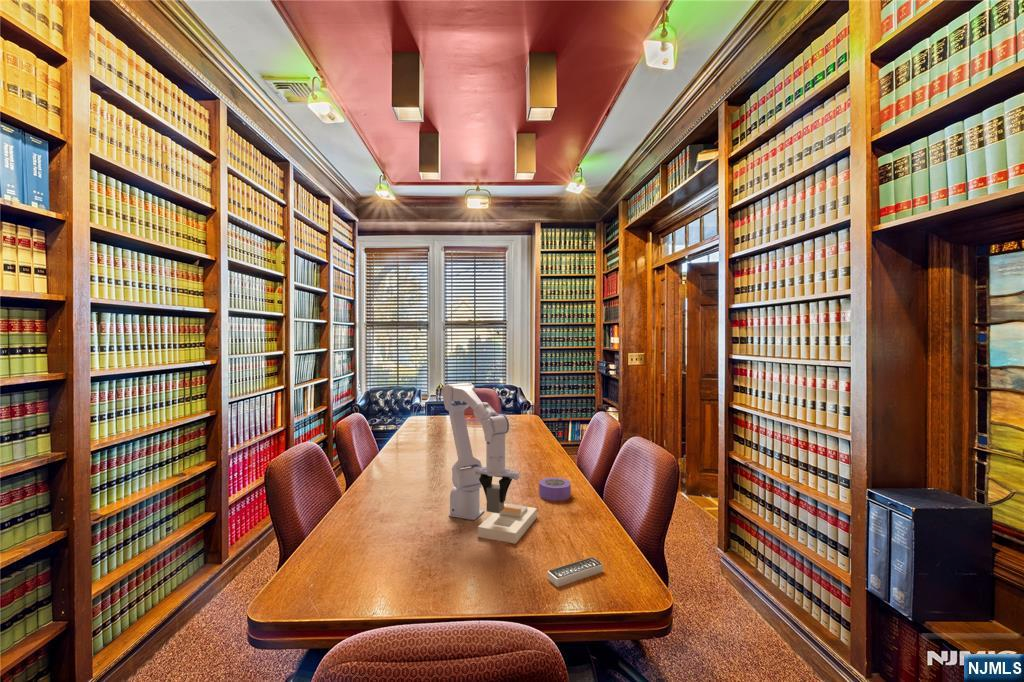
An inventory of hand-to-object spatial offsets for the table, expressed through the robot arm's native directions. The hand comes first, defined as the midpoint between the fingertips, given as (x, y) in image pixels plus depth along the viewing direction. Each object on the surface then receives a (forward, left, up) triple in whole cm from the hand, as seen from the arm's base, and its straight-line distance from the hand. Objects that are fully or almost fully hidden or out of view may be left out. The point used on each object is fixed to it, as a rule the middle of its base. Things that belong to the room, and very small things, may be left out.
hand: (495, 500), depth 136 cm
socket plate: (+2, +6, -10) cm, 12 cm away
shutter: (+2, +10, -7) cm, 12 cm away
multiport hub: (+28, -14, -10) cm, 33 cm away
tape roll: (+8, +38, -10) cm, 40 cm away
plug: (0, 0, -3) cm, 3 cm away
